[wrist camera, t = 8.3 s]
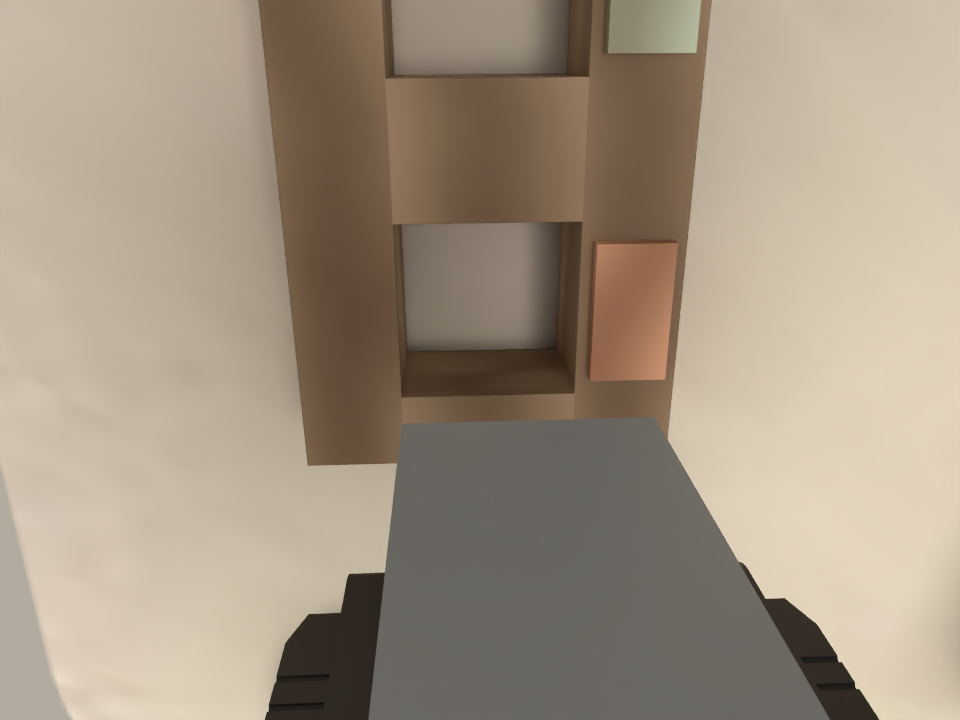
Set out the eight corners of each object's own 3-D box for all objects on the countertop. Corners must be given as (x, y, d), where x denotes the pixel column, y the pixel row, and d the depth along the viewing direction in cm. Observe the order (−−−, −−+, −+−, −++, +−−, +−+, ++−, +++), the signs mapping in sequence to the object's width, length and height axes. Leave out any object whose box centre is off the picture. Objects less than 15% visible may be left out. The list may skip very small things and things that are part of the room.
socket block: (688, -226, 21) (746, -292, 17) (637, 404, 29) (668, 461, 25) (265, -230, 21) (222, -298, 17) (325, 412, 29) (305, 471, 24)
